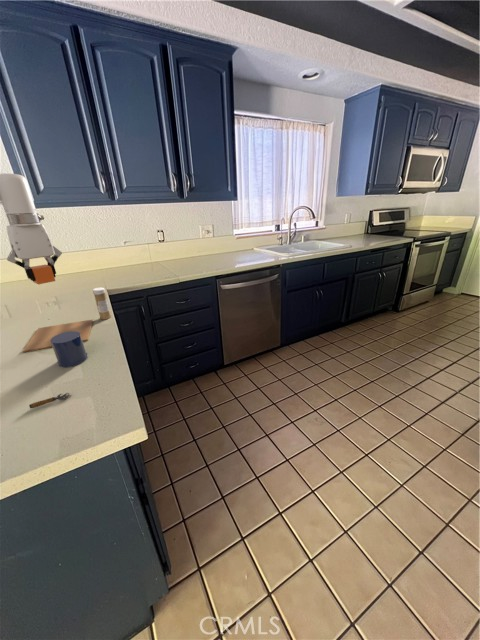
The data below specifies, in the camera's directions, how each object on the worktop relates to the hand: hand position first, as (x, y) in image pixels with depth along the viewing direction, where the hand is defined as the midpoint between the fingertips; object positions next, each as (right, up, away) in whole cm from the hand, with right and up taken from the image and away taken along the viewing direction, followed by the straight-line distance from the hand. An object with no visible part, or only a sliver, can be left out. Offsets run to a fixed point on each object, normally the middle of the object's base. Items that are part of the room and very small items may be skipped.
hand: (43, 278), depth 87 cm
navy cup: (+11, -27, -2) cm, 29 cm away
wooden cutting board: (-4, -20, +15) cm, 25 cm away
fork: (+17, -34, -21) cm, 44 cm away
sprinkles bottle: (+6, -13, +30) cm, 33 cm away
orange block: (0, -1, 0) cm, 1 cm away
